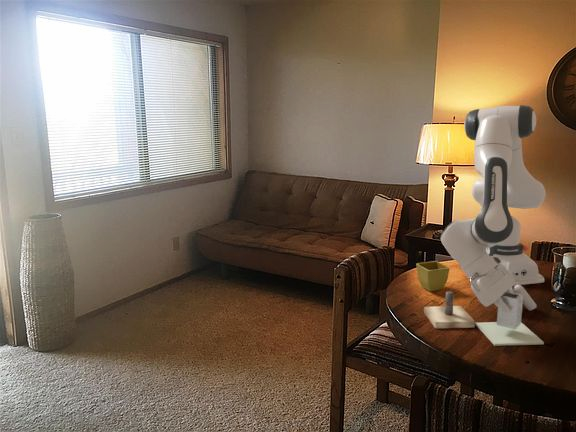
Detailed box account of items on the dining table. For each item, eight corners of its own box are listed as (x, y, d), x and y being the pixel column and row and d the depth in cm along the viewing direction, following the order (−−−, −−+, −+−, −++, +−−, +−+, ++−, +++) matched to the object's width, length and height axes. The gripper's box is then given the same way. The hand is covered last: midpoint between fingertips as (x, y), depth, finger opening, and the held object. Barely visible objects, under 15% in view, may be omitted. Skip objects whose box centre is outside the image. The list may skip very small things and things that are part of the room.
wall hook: (540, 313, 163) (535, 284, 161) (506, 318, 166) (500, 289, 164) (534, 303, 171) (528, 275, 169) (501, 308, 173) (496, 281, 172)
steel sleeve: (496, 324, 149) (499, 295, 148) (502, 319, 153) (504, 290, 151) (515, 329, 146) (517, 300, 144) (520, 323, 150) (523, 294, 148)
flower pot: (427, 294, 182) (428, 270, 180) (414, 286, 190) (415, 263, 188) (448, 291, 184) (450, 267, 182) (435, 283, 193) (436, 260, 191)
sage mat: (520, 323, 158) (520, 321, 157) (543, 344, 144) (543, 342, 144) (475, 324, 157) (475, 322, 157) (494, 345, 143) (494, 343, 143)
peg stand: (460, 311, 167) (462, 285, 165) (474, 327, 155) (476, 299, 153) (423, 312, 167) (425, 286, 165) (435, 328, 155) (436, 300, 153)
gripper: (476, 272, 143) (509, 314, 139) (500, 255, 158) (531, 292, 154) (459, 284, 146) (491, 325, 142) (484, 266, 162) (514, 303, 158)
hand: (512, 308), depth 148 cm, fingers closed on steel sleeve, 5 cm apart
